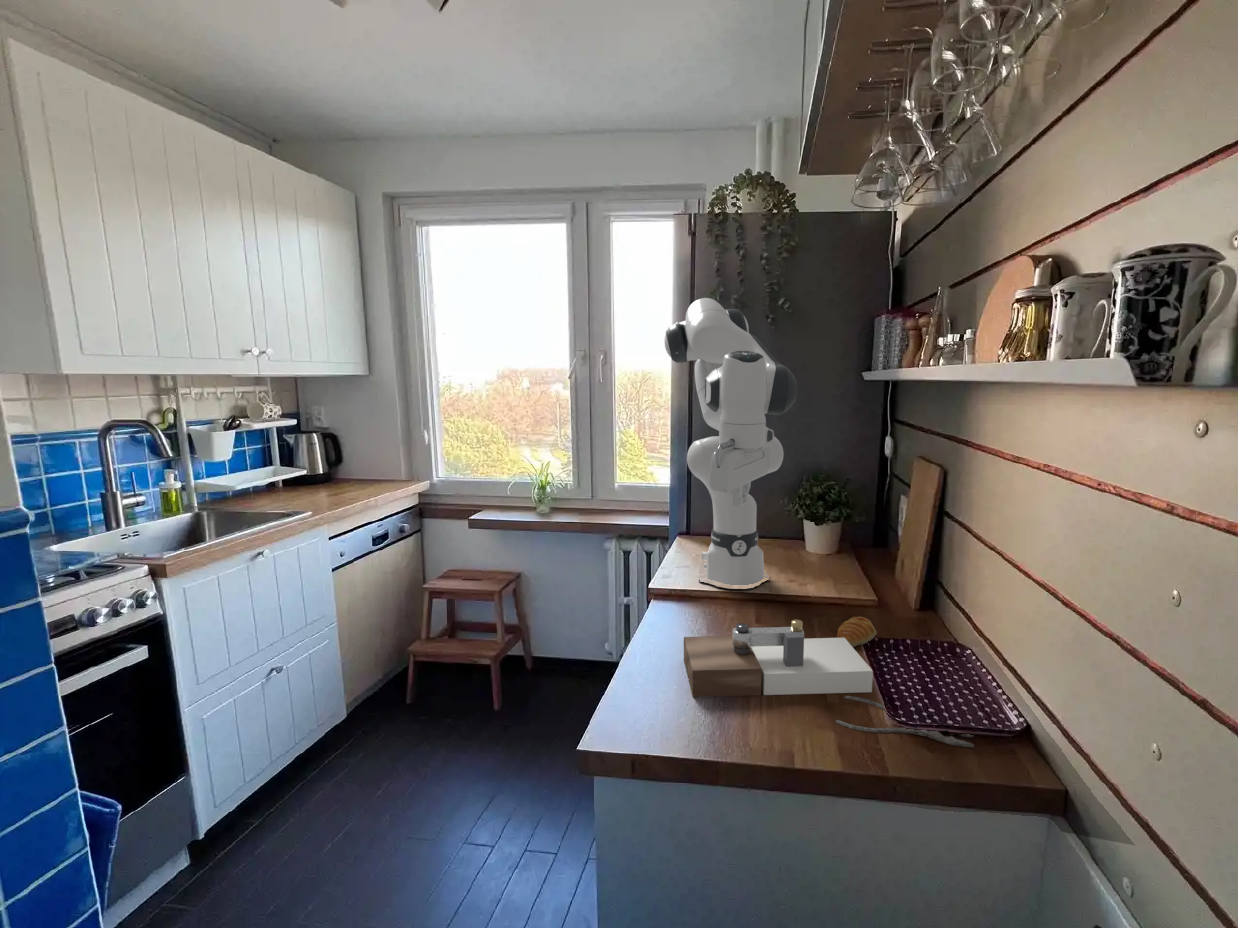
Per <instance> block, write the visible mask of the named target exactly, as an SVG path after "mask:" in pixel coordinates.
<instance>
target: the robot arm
mask: <svg viewBox="0 0 1238 928" xmlns="http://www.w3.org/2000/svg"><path fill="white" fill-rule="evenodd" d="M749 330H750V329H749V323H748V320H747V318H746V317H745V315H744V314H743V312H742V311H741V310H740V309H738V308H737V309H736V308H727V309H725V308H724V307H723V305H722V304H721V303H719V302H718V301H717V300H715V299H713V298H709V297H702V298H699V299H696V300H695V301H693V302H692V303H691V304H690V305H689V306H688V308H687V310H686V313H685V320H683V321H677V322H675V323H674V324H671V325H670V326H668V327H667V329H666V330H665V336H664V347H665V348H664V349H665V351H666V353H667V354H668V356H669V357H670V358H671V360H672V361H673V362H675V363H679V364H680V363H683V364H685V363H688V361H690V362H691V361H695V364H694V381H695V388H696V393H697V397H698V401H699V405H700V409H701V413H702V418H703V420H704V422H705V423H706V424H707V426H709V427H711V428H712V429H714V430H716V431H718V436H716V435H715V436H714V435H712V436H708V437H705V438H701V439H698V440H694V441H693V442H692V443H691V445H690V446H689V448H688V451H687V453H686V464H687V466H688V469H689V471H690V473H691V474H692V475H693V476H694V477H696V478H697V479H699V480H700V481H701V482H702V483H703V485H704V486H705V487H706V488H707V491H708V493H709V495H710V498H711V502H712V516H713V519H712V520H713V522H712V523H713V525H712V527H713V528H711V532H710V537H711V538H710V540H711V542H710V545H709V546H708V551H702V552H701V560H702V561H706V560H707V564H706V563H705V564H704V569H707V579H710V580H714V581H717V582H721V583H724V584H730V585H749V584H754V583H757V582H759V581H761V580H762V579H764V577H765V576H764V574H766V577H767V578H768V577H770V575H768V574H767V573H766V572H765V563H764V559H765V558H764V551H763V549H761V548H760V546H759V545H758V544H759V533H758V531H759V530H758V529H757V510H758V509H757V508H758V507H757V506H758V505H757V502H756V500H755V498H754V497H753V496H752V495H751V494H749V493H750V489H751V485H752V484H751V483H752V482H753V481H755V480H757V479H759V478H762V477H764V476H766V475H767V474H771V473H773V472H776V471H778V470H779V469H780V467H781V466H782V464H783V461H784V448H783V445H782V443H781V442H780V440H779V439H778V438H777V437H776V436H775V433H774V432H775V431H774V430H773V429H771V428H769V427H768V426H767V420H766V415H775V416H782V415H783V414H784V413H785V412H787V411H788V410H789V409H790V408H791V407H792V406H793V405H794V404H795V402H796V400H797V397H798V384H797V380H796V378H795V375H794V374H793V372H792V371H791V370H790V369H789V368H788V367H787V366H785V365H783V364H781V363H780V362H779V361H778V360H777V359H776V357H775V356H774V355H773V354H772V353H771V352H770V351H769V350H768V348H767V347H766V346H765V345H764V344H763V343H762V341H760V340H759V339H758V338H757V337H756V336H755V335H753V334H751V333H750V331H749ZM766 577H765V578H766Z"/></svg>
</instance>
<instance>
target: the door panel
mask: <svg viewBox="0 0 1238 928" xmlns="http://www.w3.org/2000/svg"><path fill="white" fill-rule="evenodd" d="M751 648H752V650H753V652H754V654H755V656H756V658H757V660H758V662H759V664H760V666H761V668H762V675H761V693H762V695H763V696H775V695H776V696H777V695H778V696H779V695H782V696H783V695H815V694H816V695H818V694H819V695H820V694H847V693H848V694H851V693H852V694H854V693H855V694H856V693H872V692H873V678H874V677H873V676H874V671H873V669H872V668H871V667H870V666H869V665H868V663H867V662H866V661H865V660H864V659H863V657H862V656H860V654H859V653H858V652H857V650H855V647H853V646H851V645H850V643H849V642H848V641H847V640H846V639H845V638H837V637H821V638H820V637H818V638H817V637H815V638H814V637H813V638H805V635H804V636H803V635H802V634H801V632H792V633H784V646H754V647H751Z"/></svg>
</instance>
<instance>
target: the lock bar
mask: <svg viewBox="0 0 1238 928" xmlns="http://www.w3.org/2000/svg"><path fill="white" fill-rule="evenodd" d="M790 623H791V624H790V626H779V627H778V626H776V627H775V626H774V627H767V626H766V627H750V626H749V624H747V623H742V622H741V623H737V624H736V626H735V627H733V628H732V632H731V633H732V635H731V636H732V644H733V645H734V646H735V647H738V648H749V647H754V646H784V633H792V632H801V634H802V635H803V636H804V637H805V631H804V630H803V628H804V626H803V623H804V621H802V620H800V619H792V620H791V622H790Z"/></svg>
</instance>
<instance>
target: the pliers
mask: <svg viewBox="0 0 1238 928" xmlns="http://www.w3.org/2000/svg"><path fill="white" fill-rule="evenodd" d="M844 699H847V700H853V701H858V702H862V703H866V704H869V705H872V706H874V707H876V708H879V709H881V710H882V711H884V712H886V711H885V708H884V706H885V705H883V704H881V703H879V702H877V701H874V700H871V699H867V698H863V697H859V696H858V697H857V696H852V695H844ZM835 723H836V724H838V725H840V726H843V727H846V728H848V729H852V730H857V731H860V732H861V731H862V732H866V733H874V734H875V733H876V734H913V735H917V736H922V737H926V738H929V739H932V740H935V741H938V742H941V743H944V744H947V745H951V746H957V747H964V748H971V749H974V746H975V744H974V743H972V742H968V741H966V740H963V739H957V738H955V737H954V736H955V735H954V734H949V735H950V736H945V735H943V734H942V732H941V733H940V732H938V731H931V730H930V731H927V730H914V729H906V728H907V727H903V726H902V727H901V726H900V727H865V726H859V725H855V724H851V723H848V722H844V721H841V720H839V719H836V720H835ZM970 734H971V733H970ZM970 734H961V735H960V734H959V735H958V736H959V737H963V738H969V739H970V738H971V739H974V737H975V735H974V734H973V735H970Z"/></svg>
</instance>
